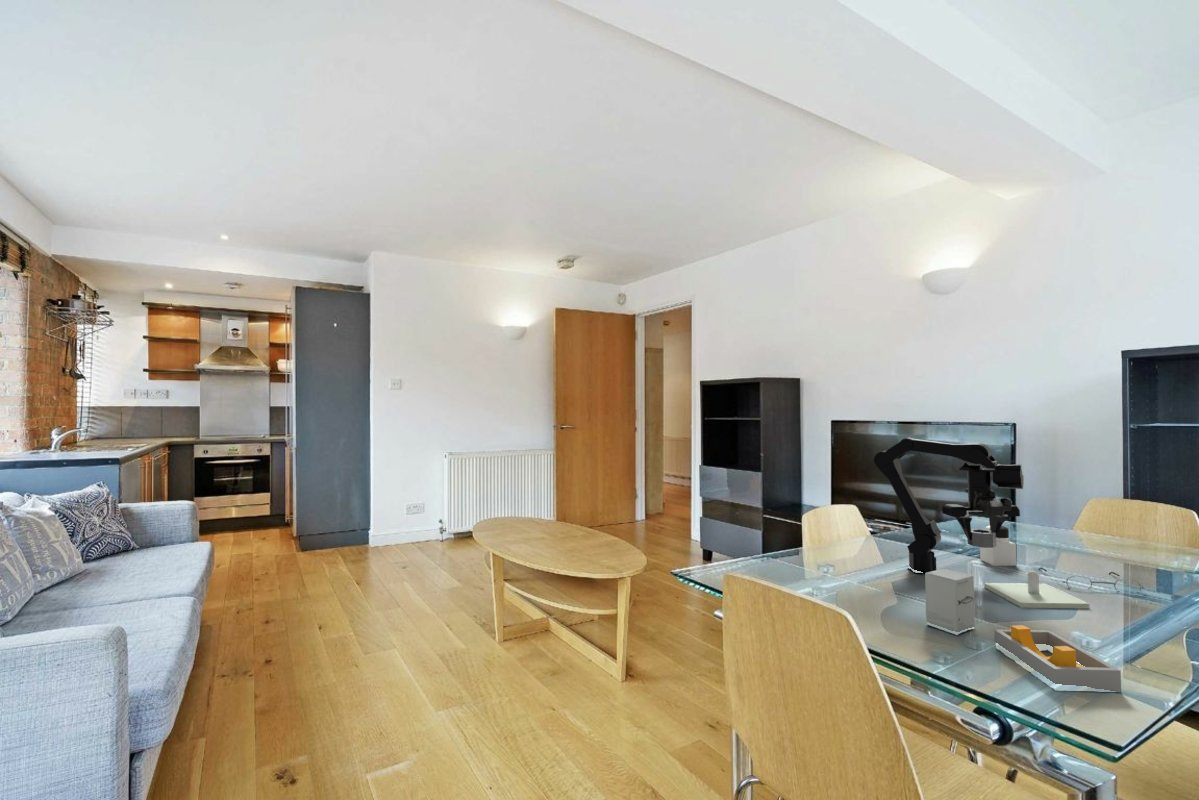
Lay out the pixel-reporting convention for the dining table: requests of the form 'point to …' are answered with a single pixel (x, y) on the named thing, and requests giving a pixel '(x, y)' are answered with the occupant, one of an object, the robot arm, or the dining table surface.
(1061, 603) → the post board
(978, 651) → the dining table surface
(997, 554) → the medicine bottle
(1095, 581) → the eyeglasses
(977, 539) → the hub ring
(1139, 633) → the dining table surface
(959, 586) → the supplement box
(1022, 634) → the pipe clamp
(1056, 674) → the parts frame
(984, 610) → the dining table surface
